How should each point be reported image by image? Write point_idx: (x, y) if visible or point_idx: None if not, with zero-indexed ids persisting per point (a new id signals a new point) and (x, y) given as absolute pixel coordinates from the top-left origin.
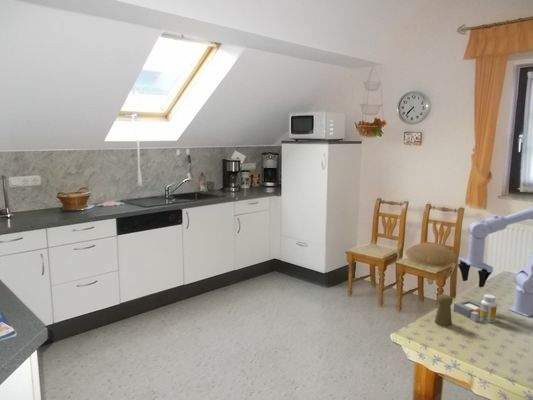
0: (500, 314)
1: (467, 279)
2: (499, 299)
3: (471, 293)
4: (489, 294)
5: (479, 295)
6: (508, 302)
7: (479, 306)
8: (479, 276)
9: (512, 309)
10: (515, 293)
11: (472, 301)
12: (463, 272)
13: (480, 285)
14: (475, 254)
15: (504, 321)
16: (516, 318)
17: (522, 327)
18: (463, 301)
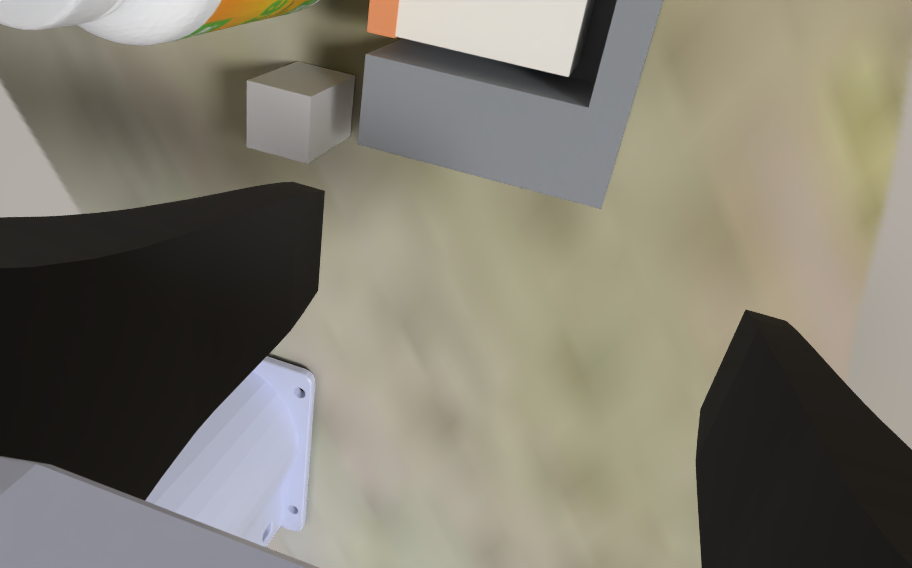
0: None
1: (700, 428)
2: (483, 548)
3: None
4: (54, 8)
5: (666, 542)
6: (402, 526)
7: (409, 60)
8: (97, 247)
9: (275, 376)
10: (170, 510)
11: (548, 144)
12: (813, 452)
13: (260, 185)
14: None
15: (169, 48)
16: None
17: (23, 50)
18: (650, 24)
